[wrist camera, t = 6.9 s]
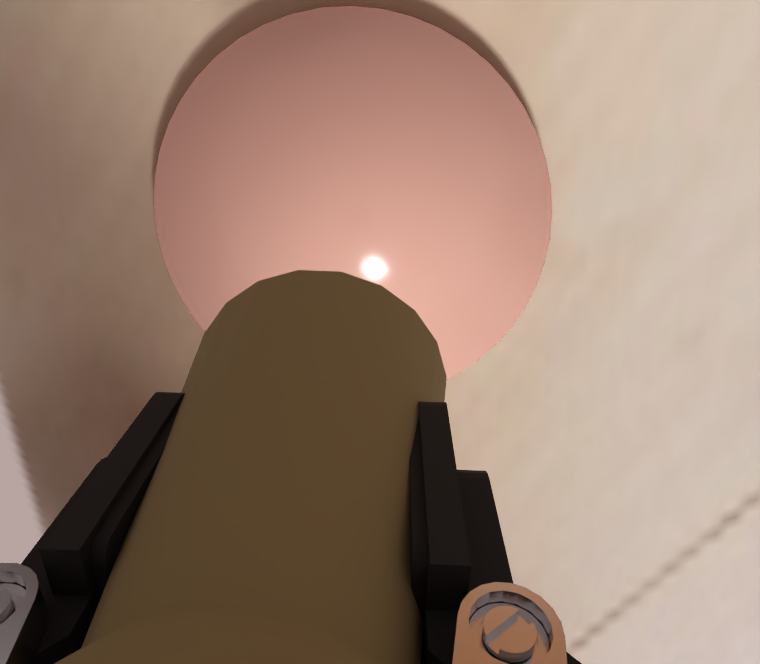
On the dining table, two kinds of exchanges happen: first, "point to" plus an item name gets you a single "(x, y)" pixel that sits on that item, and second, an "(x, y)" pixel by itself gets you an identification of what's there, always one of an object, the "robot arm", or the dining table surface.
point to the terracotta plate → (357, 173)
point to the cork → (281, 489)
